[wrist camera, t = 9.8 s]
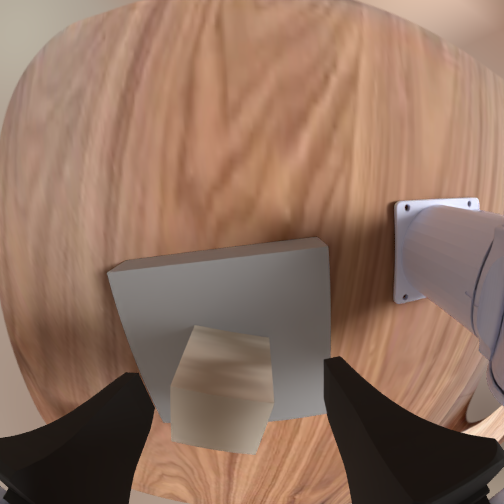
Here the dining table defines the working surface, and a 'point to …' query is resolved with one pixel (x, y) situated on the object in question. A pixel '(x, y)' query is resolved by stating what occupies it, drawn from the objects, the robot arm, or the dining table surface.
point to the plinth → (232, 314)
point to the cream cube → (222, 391)
